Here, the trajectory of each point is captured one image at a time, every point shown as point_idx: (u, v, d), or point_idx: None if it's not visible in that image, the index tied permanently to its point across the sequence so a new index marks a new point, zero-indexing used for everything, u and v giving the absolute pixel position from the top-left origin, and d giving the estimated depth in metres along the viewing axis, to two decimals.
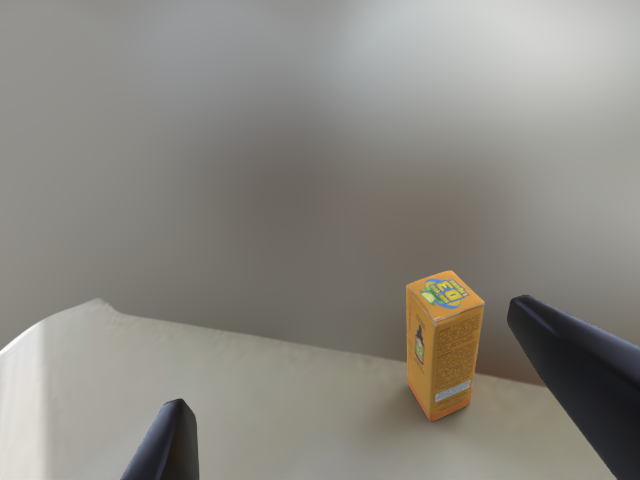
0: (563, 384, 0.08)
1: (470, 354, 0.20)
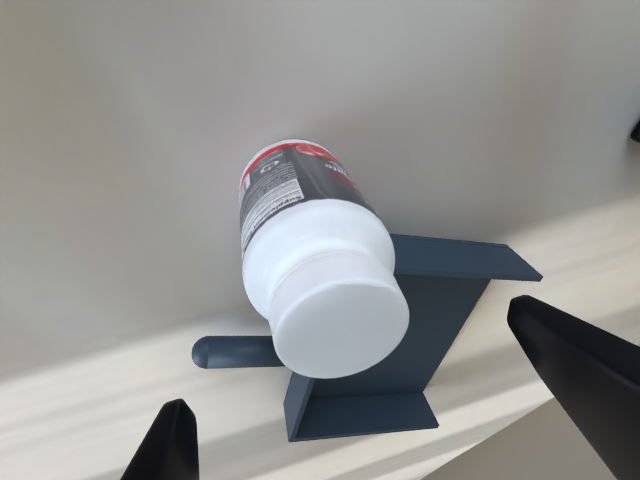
0: (563, 384, 0.08)
1: None
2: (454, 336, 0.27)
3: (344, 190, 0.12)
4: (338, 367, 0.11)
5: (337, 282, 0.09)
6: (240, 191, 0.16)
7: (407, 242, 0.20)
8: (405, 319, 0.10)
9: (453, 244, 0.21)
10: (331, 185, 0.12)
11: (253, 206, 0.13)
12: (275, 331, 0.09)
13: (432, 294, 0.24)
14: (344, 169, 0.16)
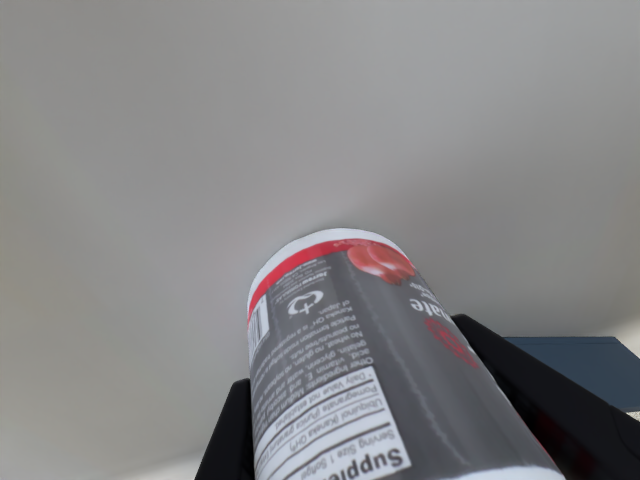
0: None
1: None
2: None
3: (479, 402, 0.06)
4: None
5: None
6: (249, 320, 0.09)
7: None
8: None
9: (551, 347, 0.15)
10: (451, 391, 0.06)
11: (281, 418, 0.06)
12: None
13: None
14: (424, 281, 0.09)
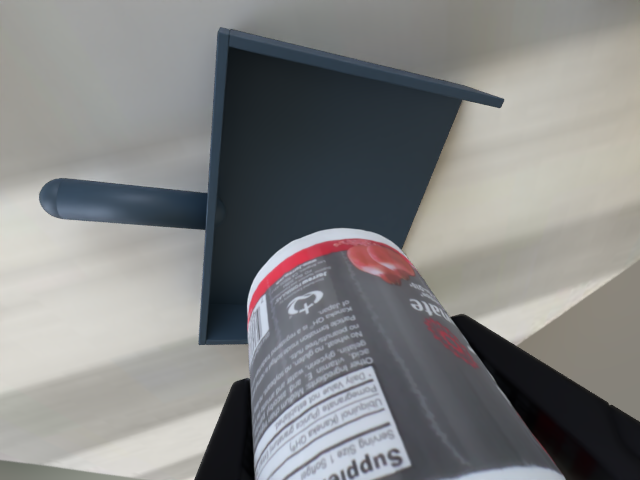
0: None
1: None
2: (408, 225, 0.22)
3: (479, 403, 0.06)
4: None
5: None
6: (249, 320, 0.09)
7: (325, 52, 0.15)
8: None
9: (390, 68, 0.17)
10: (451, 391, 0.06)
11: (281, 418, 0.06)
12: None
13: (372, 154, 0.19)
14: (424, 281, 0.09)
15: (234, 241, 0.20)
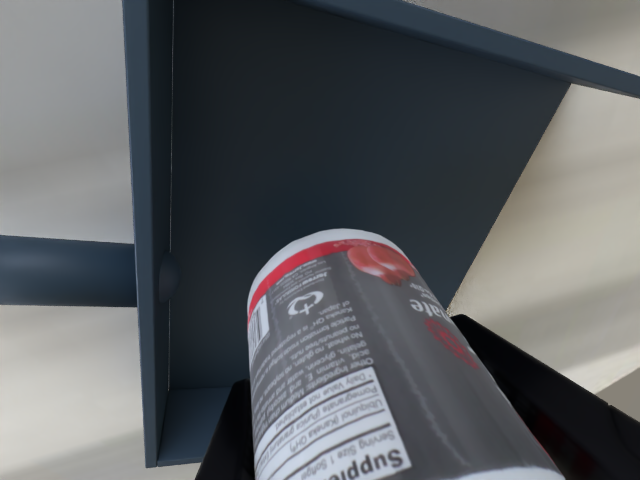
0: None
1: None
2: (461, 275, 0.15)
3: (478, 403, 0.06)
4: None
5: None
6: (250, 321, 0.09)
7: None
8: None
9: None
10: (451, 392, 0.06)
11: (282, 418, 0.06)
12: None
13: (418, 176, 0.12)
14: (424, 281, 0.09)
15: (203, 307, 0.13)
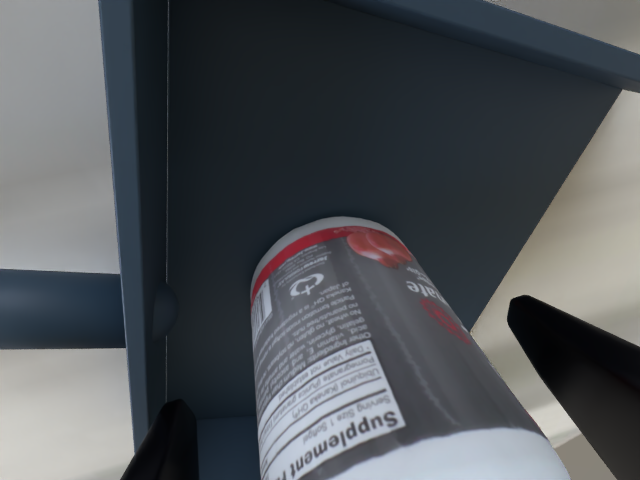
0: (563, 384, 0.08)
1: None
2: (486, 298, 0.14)
3: (470, 372, 0.06)
4: None
5: None
6: (253, 305, 0.10)
7: None
8: None
9: None
10: (444, 362, 0.06)
11: (284, 389, 0.06)
12: None
13: (446, 193, 0.11)
14: (421, 267, 0.10)
15: (203, 336, 0.12)
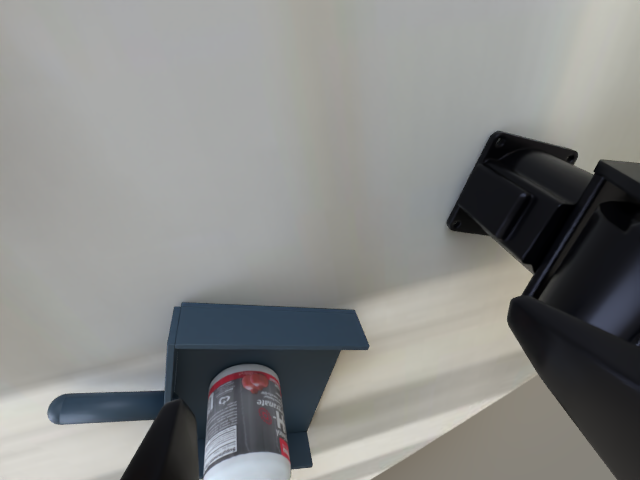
0: (563, 384, 0.08)
1: None
2: (324, 385, 0.30)
3: (262, 435, 0.22)
4: None
5: None
6: (208, 400, 0.25)
7: (247, 314, 0.23)
8: None
9: (296, 313, 0.24)
10: (254, 433, 0.22)
11: (211, 438, 0.22)
12: None
13: (289, 352, 0.26)
14: (274, 386, 0.25)
15: (189, 405, 0.27)
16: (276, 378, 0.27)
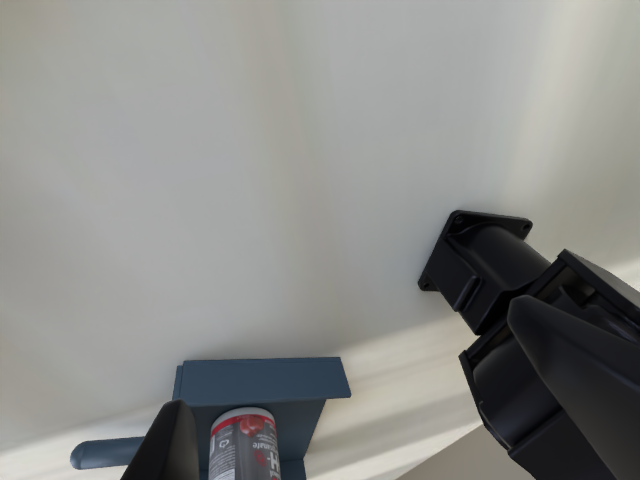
0: (563, 384, 0.08)
1: None
2: (316, 420, 0.33)
3: (257, 478, 0.25)
4: None
5: None
6: (210, 441, 0.28)
7: (242, 368, 0.26)
8: None
9: (286, 364, 0.27)
10: (250, 475, 0.25)
11: None
12: None
13: None
14: (269, 427, 0.28)
15: None
16: (271, 419, 0.29)
